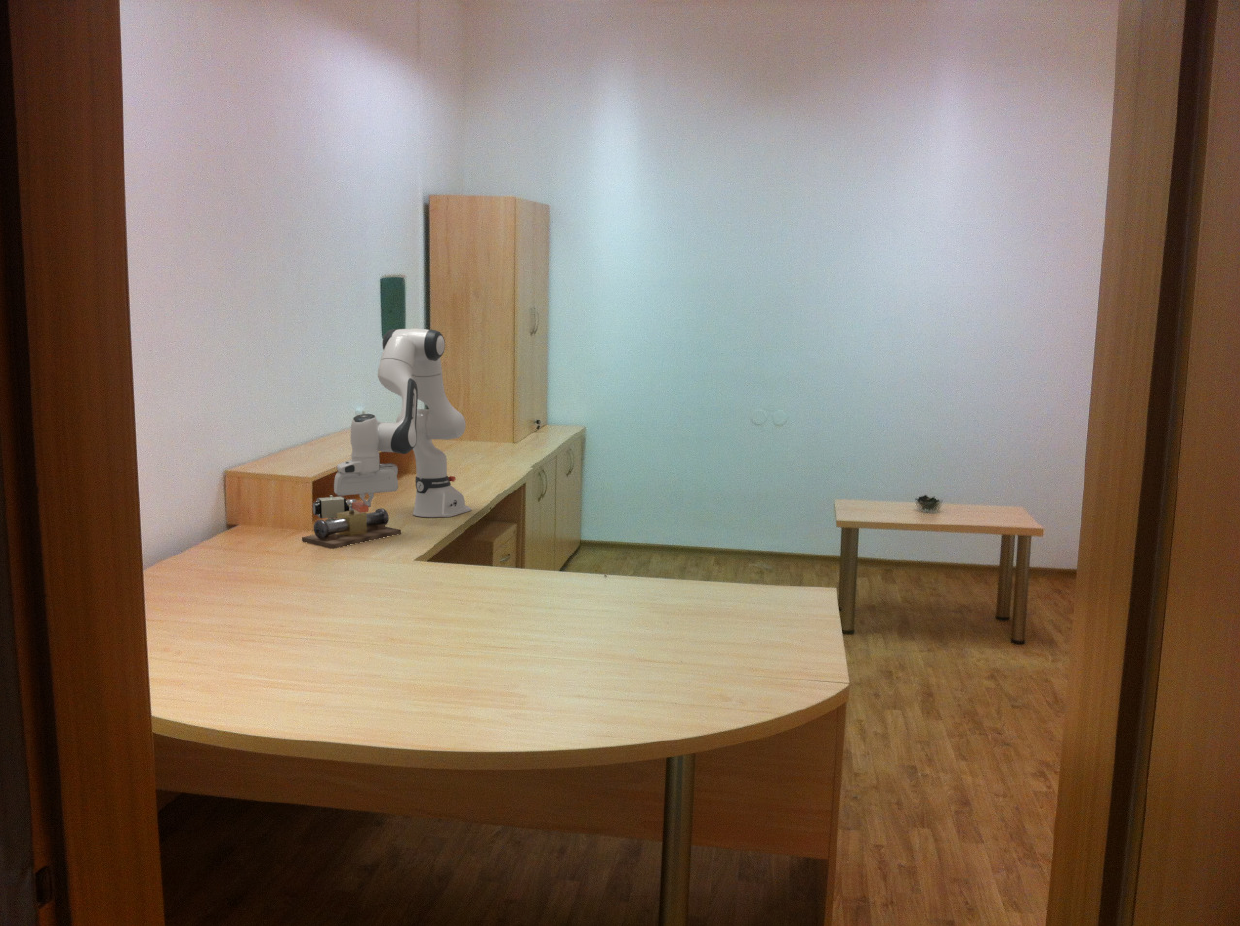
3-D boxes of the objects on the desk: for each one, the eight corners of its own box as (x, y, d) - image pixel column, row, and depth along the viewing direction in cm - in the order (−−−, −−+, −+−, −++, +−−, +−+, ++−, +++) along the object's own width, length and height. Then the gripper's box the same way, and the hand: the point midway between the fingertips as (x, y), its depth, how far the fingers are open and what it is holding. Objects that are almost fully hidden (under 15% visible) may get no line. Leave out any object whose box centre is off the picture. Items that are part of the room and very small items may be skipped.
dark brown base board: (370, 527, 359) (369, 518, 359) (401, 534, 350) (400, 525, 349) (302, 541, 337) (301, 532, 337) (333, 548, 328) (332, 539, 327)
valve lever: (345, 505, 342) (345, 499, 342) (354, 504, 344) (354, 498, 344) (359, 512, 330) (359, 506, 330) (368, 511, 332) (368, 505, 332)
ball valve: (376, 525, 356) (376, 499, 354) (389, 528, 352) (388, 501, 350) (313, 538, 335) (312, 510, 334) (326, 541, 331) (325, 513, 330)
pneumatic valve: (350, 529, 356) (349, 495, 355) (316, 532, 351) (315, 497, 349) (347, 526, 361) (346, 492, 360) (313, 529, 356) (311, 494, 354)
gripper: (394, 461, 341) (396, 502, 343) (331, 465, 331) (333, 507, 334) (400, 464, 335) (401, 505, 337) (336, 468, 326) (337, 511, 328)
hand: (367, 506), depth 336 cm, fingers closed
